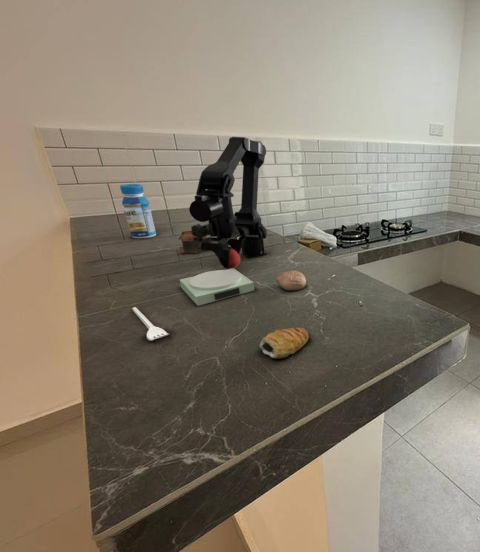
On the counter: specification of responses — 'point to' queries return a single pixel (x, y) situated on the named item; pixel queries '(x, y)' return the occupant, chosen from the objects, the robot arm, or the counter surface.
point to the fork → (150, 327)
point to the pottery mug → (190, 242)
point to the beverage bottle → (137, 211)
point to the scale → (216, 285)
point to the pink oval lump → (291, 280)
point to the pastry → (284, 342)
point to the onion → (233, 259)
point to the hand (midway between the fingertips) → (230, 264)
